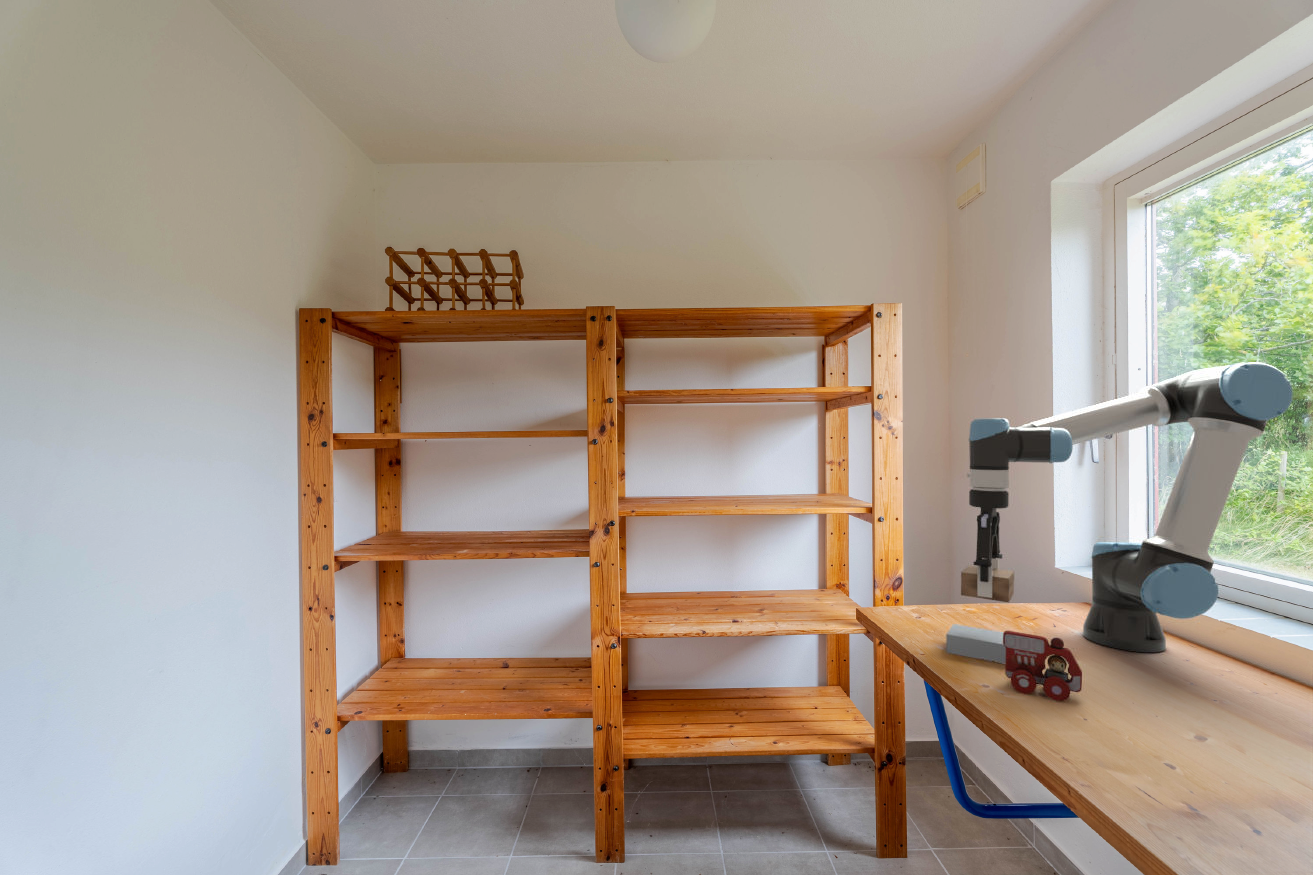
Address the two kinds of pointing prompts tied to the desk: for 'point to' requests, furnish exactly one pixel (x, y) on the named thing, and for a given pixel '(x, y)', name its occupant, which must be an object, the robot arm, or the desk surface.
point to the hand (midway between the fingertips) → (988, 591)
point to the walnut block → (1000, 584)
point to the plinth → (976, 643)
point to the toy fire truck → (1040, 665)
